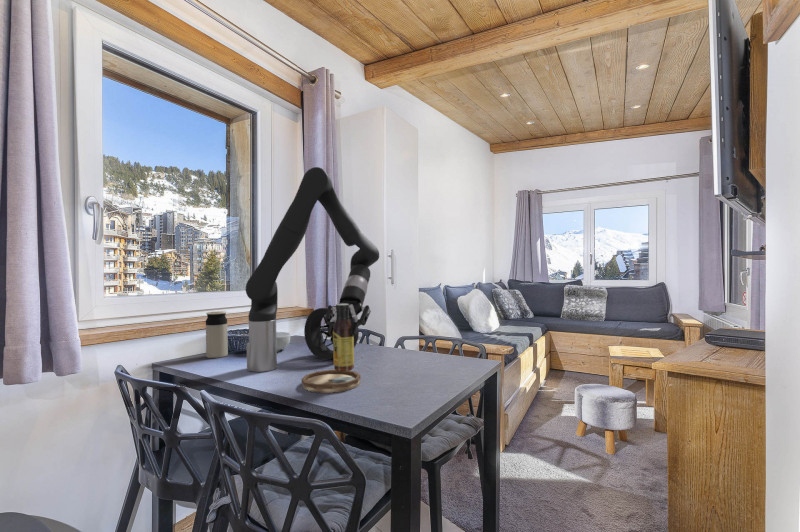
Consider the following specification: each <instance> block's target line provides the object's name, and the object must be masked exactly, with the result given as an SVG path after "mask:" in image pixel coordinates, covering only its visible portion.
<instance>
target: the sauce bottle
mask: <svg viewBox="0 0 800 532" xmlns="http://www.w3.org/2000/svg"><path fill="white" fill-rule="evenodd" d="M335 306H336V313H337V317H336V322H335V325H334V328H333V344H332V349H333V350H332V351H333V358H332V359H333V370H336V371H353V370H354V368H355V347H354V337H351V335H350V330H351V326H352V323H351V322H350V320H349V304H345V303H344V304H339V303H337V304H335Z"/></svg>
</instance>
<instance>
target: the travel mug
mask: <svg viewBox="0 0 800 532" xmlns="http://www.w3.org/2000/svg"><path fill="white" fill-rule="evenodd" d="M226 313H227V311H223V310H217V311H208V312H206V313H205V314H206V317H207V318H206V319H205V353H206V355H205V356H206V358H208V359H219V358H224V357H226V356H228V354H229V353H228V351H229V350H228V347H229V346H228V345H229V344H228V343H229V342H228V319H227V317H226Z"/></svg>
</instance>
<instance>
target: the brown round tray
mask: <svg viewBox="0 0 800 532" xmlns="http://www.w3.org/2000/svg"><path fill="white" fill-rule="evenodd" d="M361 376H362V375H361V374H360V373H359V372H357V371H354V370H350V371H336V370H335V369H328V370H327V369H326V370H318V371H315V372H311V373H307V374H305V375H304V376H303V377H302V378H301V384H302V388H303V389H304V390H305V389H306V390H305V391H307V390H308V391H307V392H310V391H312V392H311V393H315V392H320V393H319V394H332V393H333V392H335V393H342V392H346V391H350V390H353V389H355V388H357V387H359V385H360V384H361Z"/></svg>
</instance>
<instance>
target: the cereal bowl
mask: <svg viewBox="0 0 800 532" xmlns="http://www.w3.org/2000/svg"><path fill="white" fill-rule="evenodd" d="M276 340H277V352H279V351H281V350H282V349H285V348H286V347H287V346H289V343H290V341H291V333H290V332H285V331H284V332H283V331H276Z"/></svg>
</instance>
